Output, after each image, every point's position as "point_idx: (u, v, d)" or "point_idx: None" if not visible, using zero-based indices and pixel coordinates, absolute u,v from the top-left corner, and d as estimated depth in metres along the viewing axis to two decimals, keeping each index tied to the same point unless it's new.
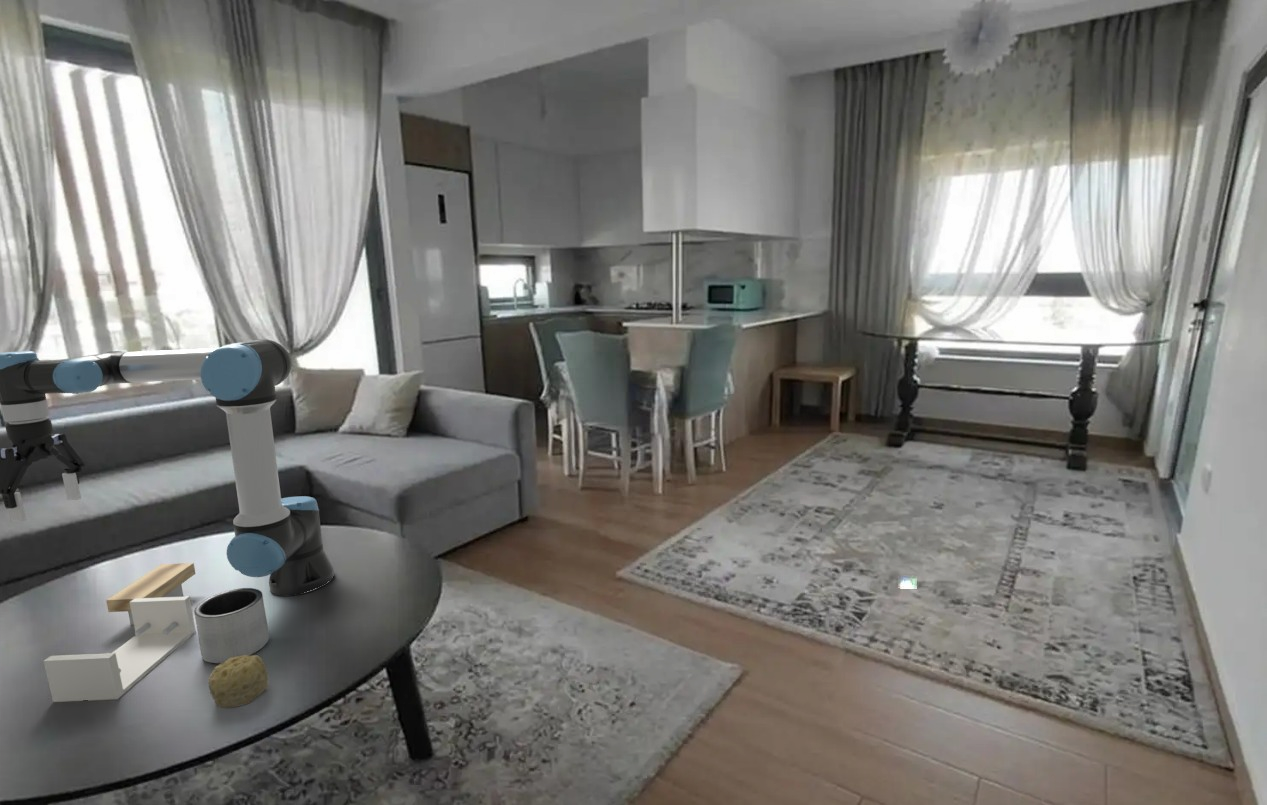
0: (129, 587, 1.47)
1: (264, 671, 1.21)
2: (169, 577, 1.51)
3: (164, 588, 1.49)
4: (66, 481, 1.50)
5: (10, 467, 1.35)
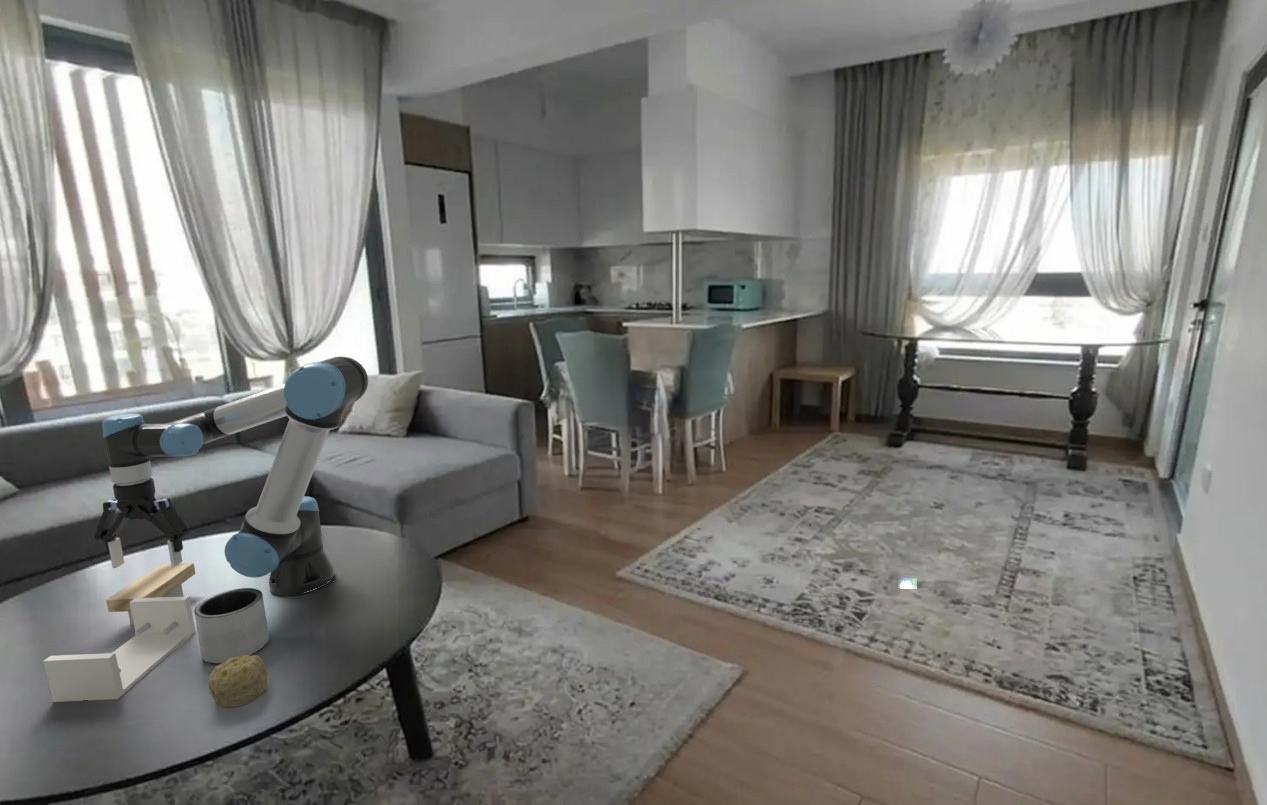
0: (129, 587, 1.47)
1: (264, 671, 1.21)
2: (169, 577, 1.51)
3: (164, 588, 1.49)
4: None
5: (104, 519, 1.46)
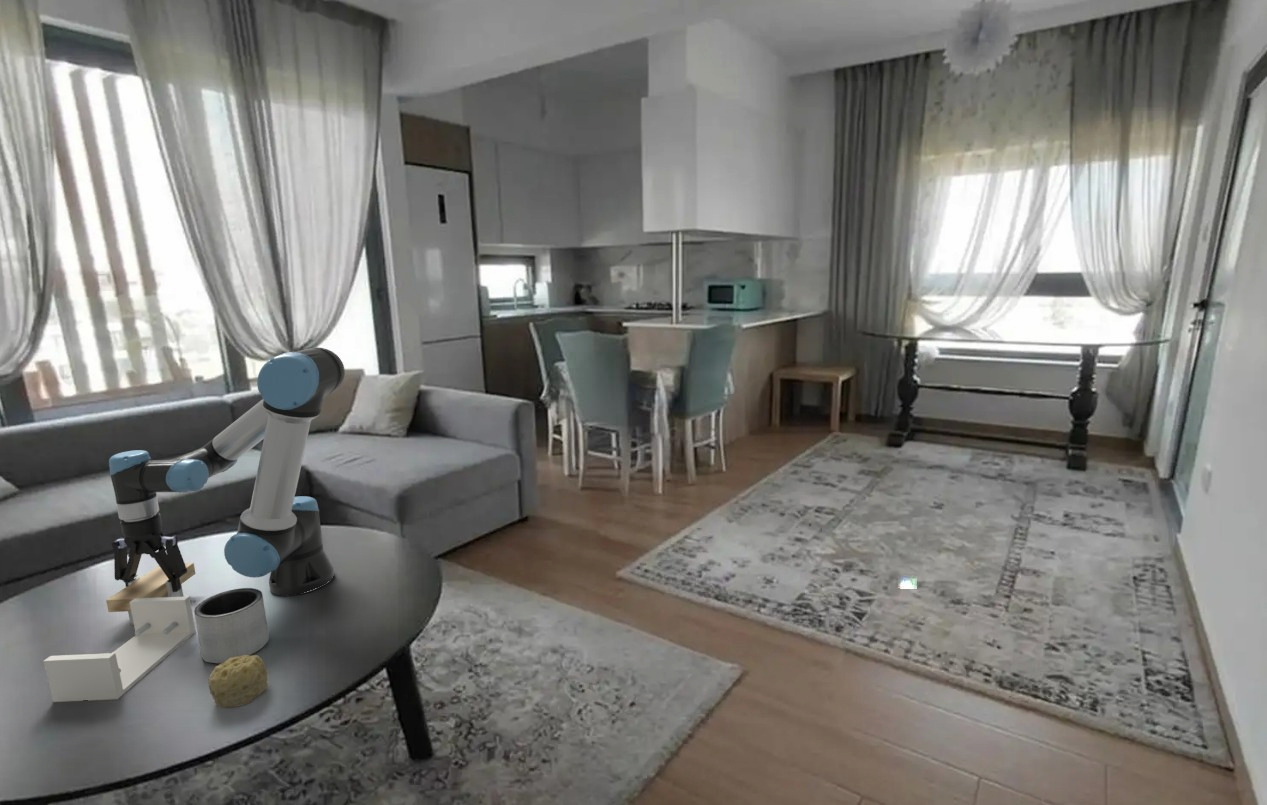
0: (129, 587, 1.47)
1: (264, 671, 1.21)
2: None
3: (165, 588, 1.49)
4: None
5: (117, 558, 1.48)
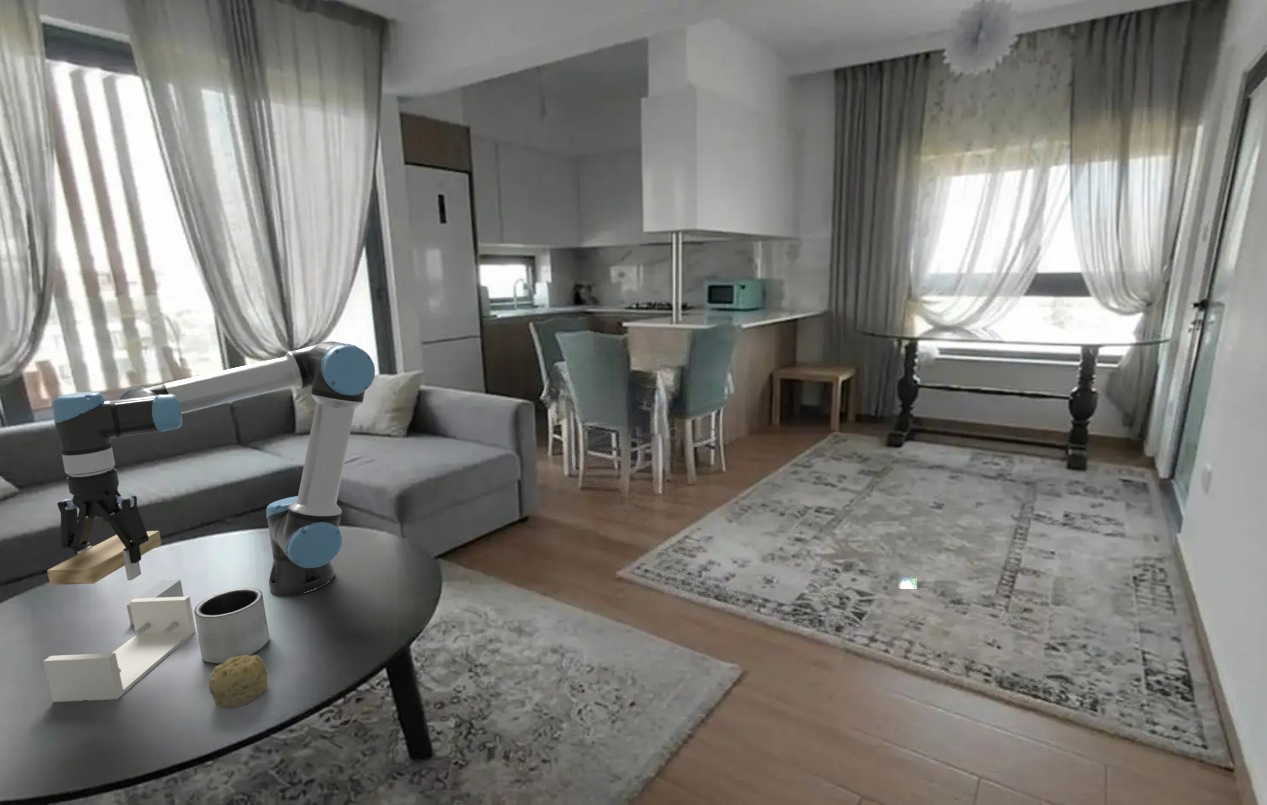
0: (78, 556, 1.23)
1: (264, 671, 1.21)
2: None
3: (121, 558, 1.24)
4: None
5: (64, 521, 1.23)
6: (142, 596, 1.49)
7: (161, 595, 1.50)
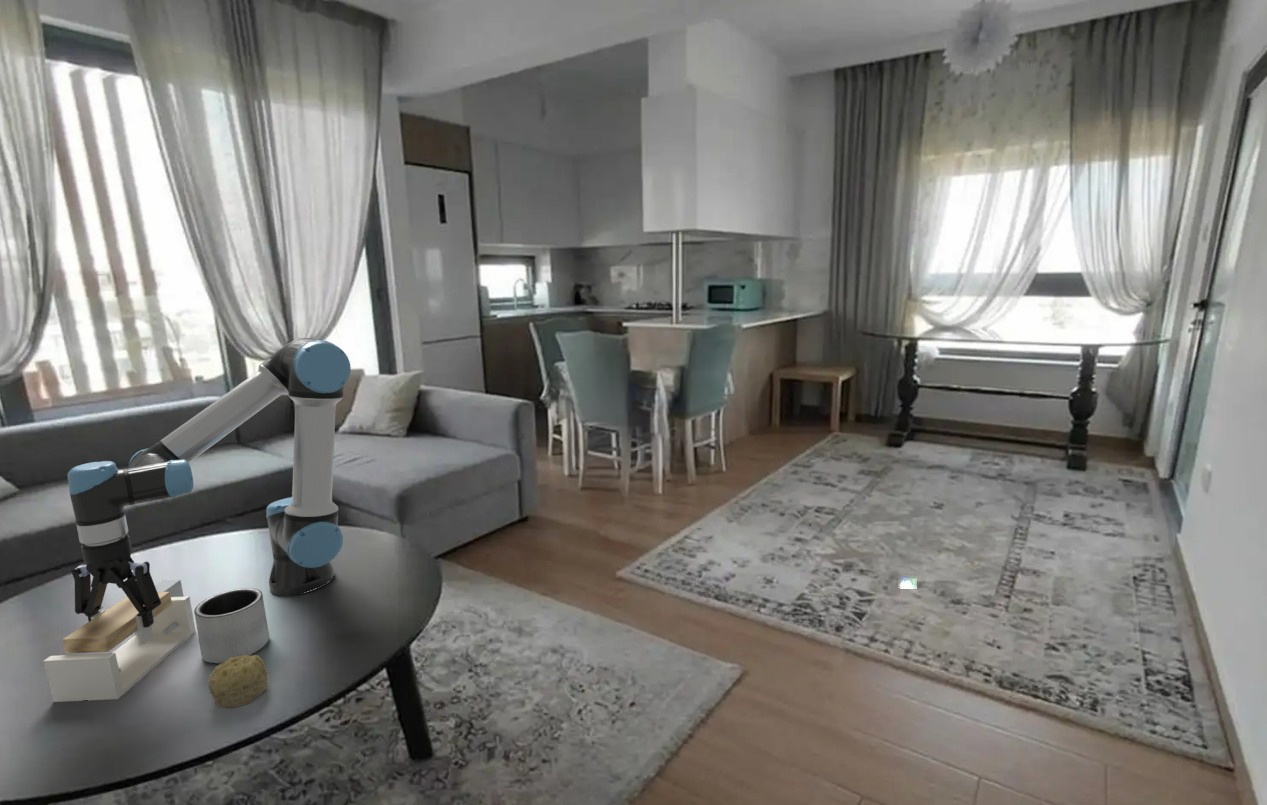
0: (92, 622, 1.25)
1: (264, 671, 1.21)
2: None
3: (134, 623, 1.27)
4: None
5: (78, 588, 1.26)
6: None
7: None
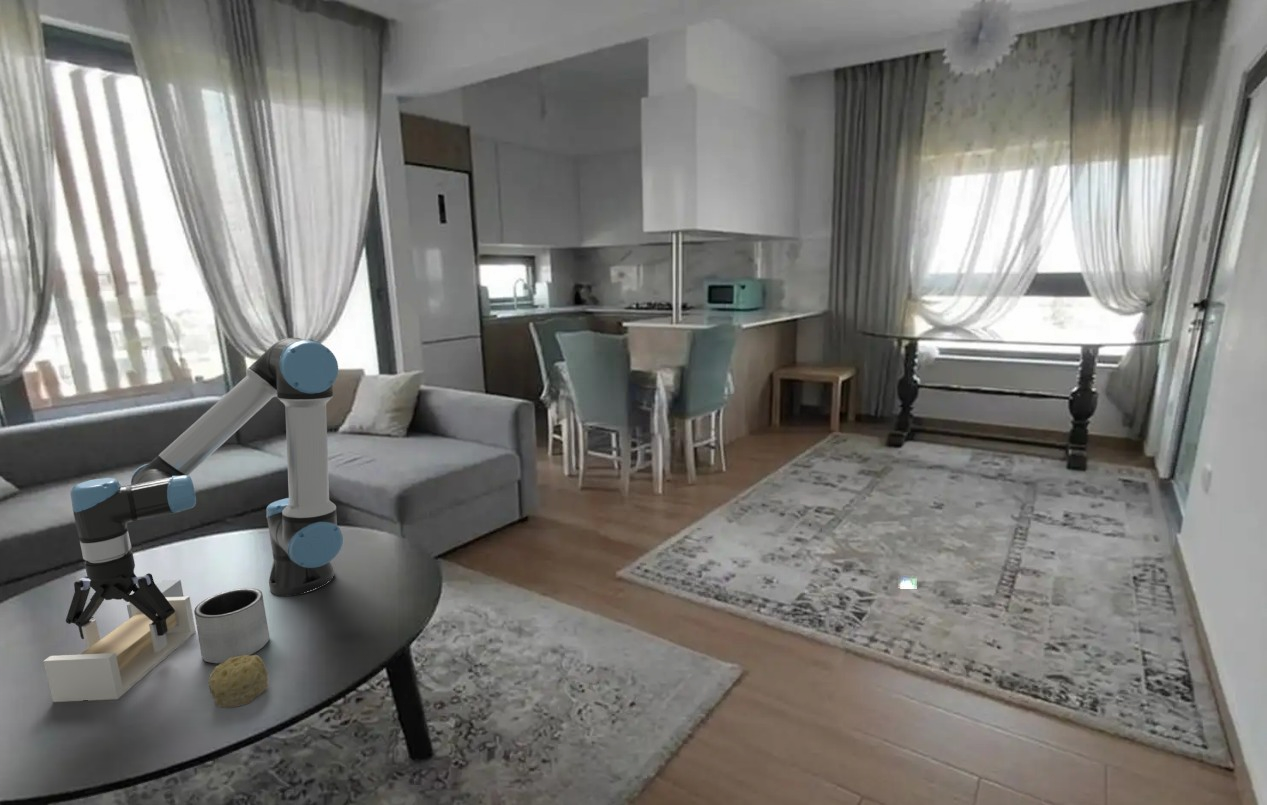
0: (97, 644, 1.26)
1: (264, 671, 1.21)
2: (145, 631, 1.31)
3: (139, 645, 1.28)
4: None
5: (76, 600, 1.26)
6: None
7: None
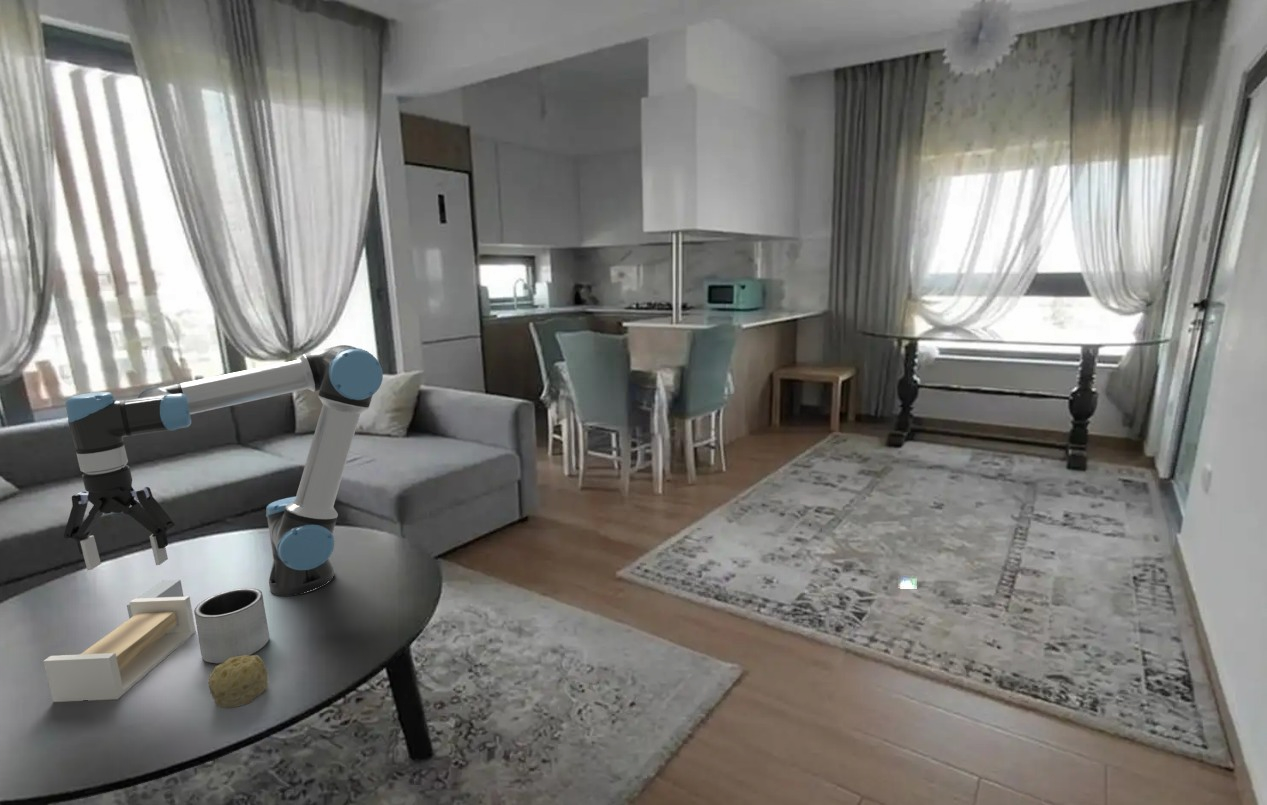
0: (97, 644, 1.26)
1: (264, 671, 1.21)
2: (145, 631, 1.31)
3: (139, 645, 1.28)
4: None
5: (73, 514, 1.27)
6: (142, 596, 1.49)
7: (161, 595, 1.50)
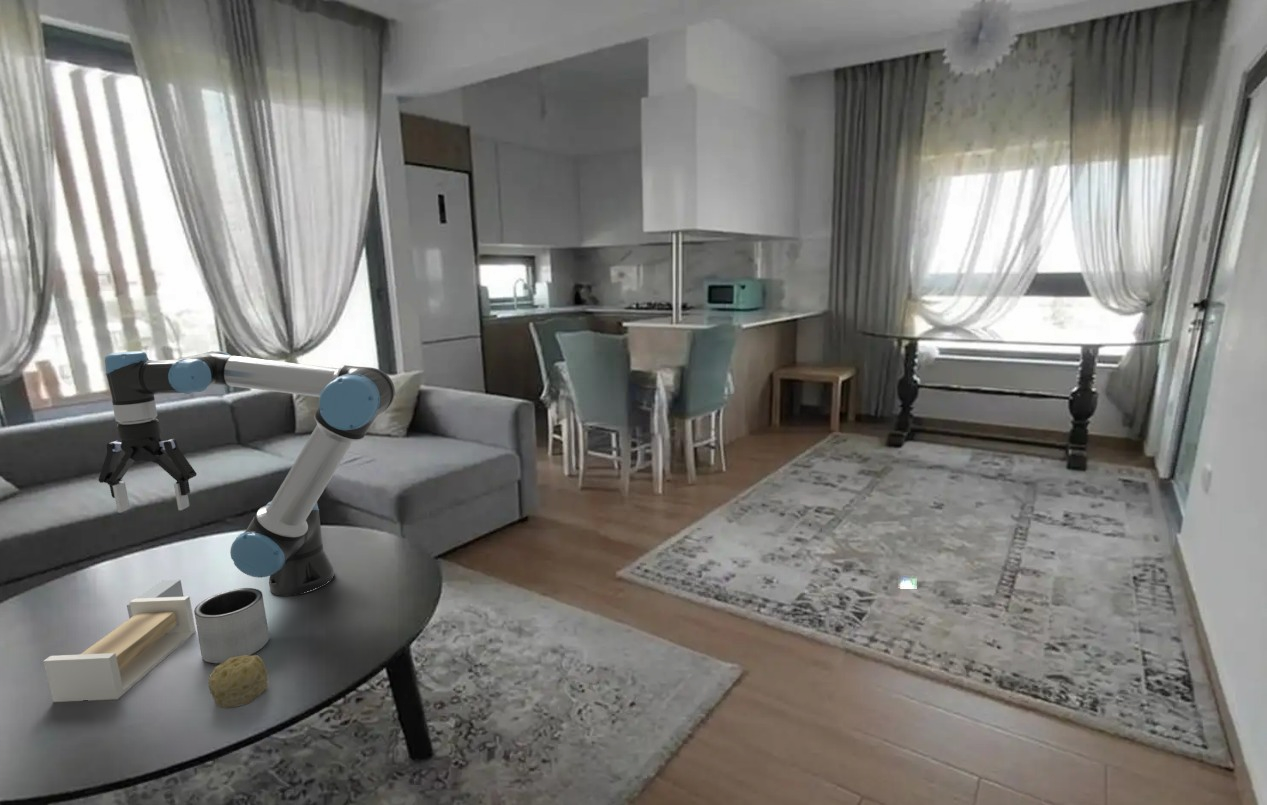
0: (97, 644, 1.26)
1: (264, 671, 1.21)
2: (145, 631, 1.31)
3: (139, 645, 1.28)
4: None
5: (108, 460, 1.41)
6: (142, 596, 1.49)
7: (161, 595, 1.50)
